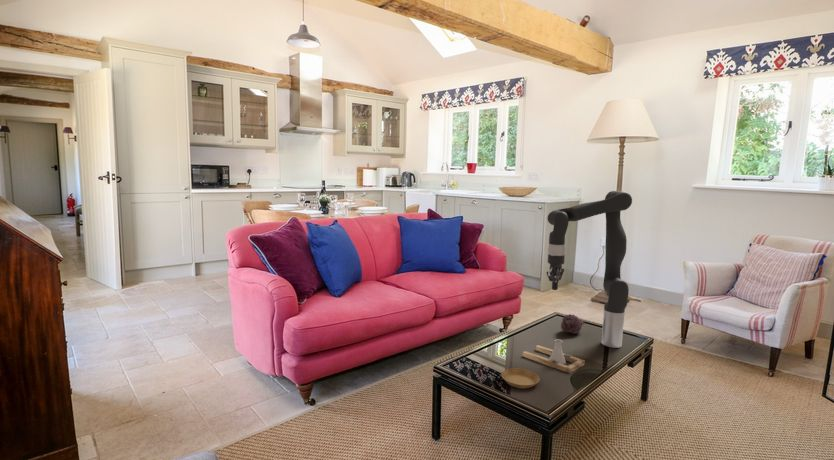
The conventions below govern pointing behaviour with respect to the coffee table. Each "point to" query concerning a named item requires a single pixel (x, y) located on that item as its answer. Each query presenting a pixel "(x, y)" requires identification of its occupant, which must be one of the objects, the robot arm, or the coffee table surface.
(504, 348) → the coffee table surface
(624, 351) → the coffee table surface
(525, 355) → the beam channel
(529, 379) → the plant saucer
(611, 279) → the robot arm
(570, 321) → the pine cone
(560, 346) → the flask
